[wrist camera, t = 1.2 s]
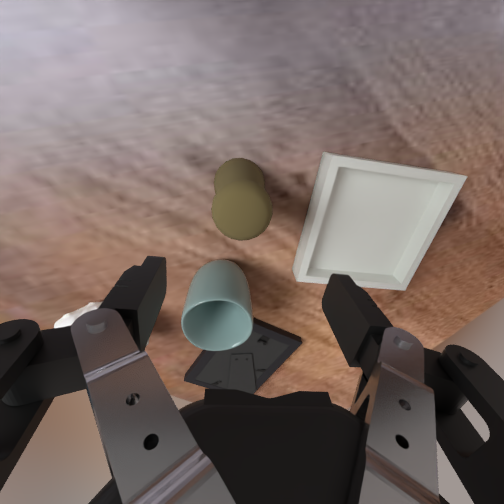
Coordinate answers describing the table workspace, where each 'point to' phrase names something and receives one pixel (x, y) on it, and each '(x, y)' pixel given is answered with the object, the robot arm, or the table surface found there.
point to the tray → (372, 220)
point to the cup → (218, 307)
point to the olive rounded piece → (241, 200)
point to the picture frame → (244, 360)
